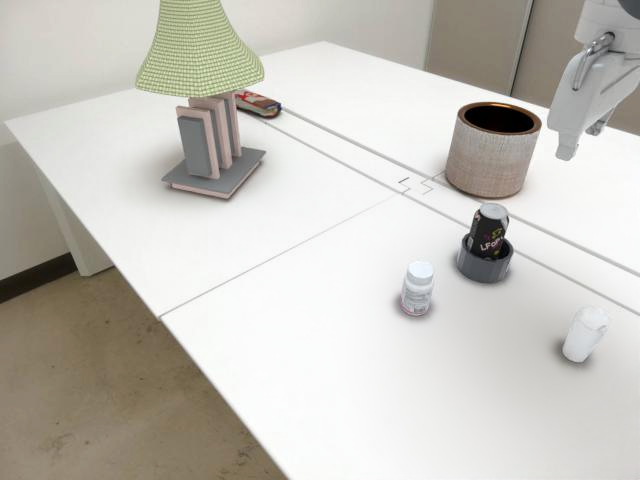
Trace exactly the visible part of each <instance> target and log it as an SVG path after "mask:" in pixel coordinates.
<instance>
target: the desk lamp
mask: <svg viewBox="0 0 640 480" xmlns="http://www.w3.org/2000/svg"><path fill="white" fill-rule="evenodd" d="M156 22H157V23H156V27H155V32H154V35H153V39H152V43H151V46H150V48H149V50H148V53H147V54H146V56H145V58H144V59H143V61H142V63H141V65H140V67H139V69H138V71H137V73H136V76H135V80H134V88H135V89H137V90H140V91H145V92H148V93H153V94H159V95H165V96H173V97H178V98H179V97H180V98H188V99H187V103H188V106H183V105H177V106H176V107H175V113H176V120H177V125H178V130H179V135H180V140H181V144H182V149H183V156H184V158H183V160H181V161H180V162H179V163H177V164H176V165H175V166H174V167H173V168H172V169H171V170H170V171H169V172H167V173H166V174H165V175H164V176H162V178H160V180H161V182H164V183H169V184H171V186H172V188H173V189H178V190H181V191H187V192H193V193H195V194H196V193H197V194H202V195H207V196H211V197H216V198H221V199H226V200H228V199H230V197H231V196H232V195H233V194H234V193H235V191H236V190H237V189H238V188H239V187H240V186H241V185H242V184H243V183H244V182H245V180H246V179H247V178H248V177H249V176H250V175H251V174H252V172H254V170H255V169H256V168H257V167H258V166H259V165H260V163H261V162H260V160H261V159H262V158H263V157H264V156H265V155H266V154H267V151H266V150H265V149H257V148H252V147H247V146H241V145H242V144H241V137H240V136H241V135H240V127H239V121H238V119H239V118H238V111H237V106H236V102H235V93H234V90H242V89H244V88H247V87H251V86H253V85H256V84H258V83H261V82H263V81H264V80H265V77H266V72H265V68H264V64H263V62H262V61H261V59H260V58H259V56H258V54H256V53H255V52H254V51H253V50H252V49H251V48H250V47H249V46H248V45H247V44H246V43H245V42H244V41H243V40H242V38H240V36H239V34H238V33H237V32H236V30H235V28H234V27H233V25H232V24H231V21H230V19H229V18H228V15H227V13H226V11H225V9H224V7H223V4H222V2H221V0H159V7H158V16H157V21H156Z"/></svg>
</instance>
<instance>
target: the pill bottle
mask: <svg viewBox="0 0 640 480" xmlns="http://www.w3.org/2000/svg"><path fill="white" fill-rule="evenodd" d="M434 272H435V270H434V267H433V266H432V265H431V264H430V263H429V262H426V261H424V260H415V261H411V262H410V263H409V264H408V266H407V271H406V273H405V274H404V276H403V281H402V289H401V295H400V301H399V302H400V303H399V304H400V305H399V306H400V308H401V310H403V311H404V312H405V313H407V314H408V315H411V316H422V315H424V314H426V313H427V312H428V310H429V308H430V304H431V298H432V293H433V289H434V285H435V281H434V280H435V279H434Z"/></svg>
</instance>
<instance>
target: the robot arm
mask: <svg viewBox="0 0 640 480" xmlns="http://www.w3.org/2000/svg"><path fill="white" fill-rule="evenodd" d="M573 37H574V40H575V41H576V42H578V43H580V44H581V45H583V47H582V49H581V51H580V52H579V53H577V54H576V55H574V56H573V57H572V58H571V59H570V60H569V62H568V64H567V65H566V67H565V69H564V71H563V74H562V76H561V78H560V81H559V83H558V86H557V89H556V91H555V94H554V97H553V99H552V103H551V105H550V108H549V110H548V114H547V116H546V127H547V129H549V130H551V131H554V132H556V133H558V146H557V147H556V151H555V154H554V155H555V158H556V159H558V160H561V161H564V162H569V161H571V160H572V159H573V158H574V157H575V156H576V154H577V151H578V150H579V146H580V144H579V141H580V138H581V136H582V135H583V133H585V134H587V135H589V136H593V137H597V136H599V135H601V134H602V133H603V132H604V130H605V128H606V125H607V123H608V121H609V119H610V118H611V116H612V114H613V112H614V111H615V110H616V108H617V107H618V104H620V103H621V102H622V101H623V100H624V99H626V97H629V96H630V94H632V93H633V92H634V91H635V90H636V88H638V86H639V84H640V0H584V3H583V6H582V9H581V12H580V15H579V19H578V22H577V25H576V28H575V32H574V35H573Z"/></svg>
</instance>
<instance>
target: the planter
mask: <svg viewBox="0 0 640 480" xmlns="http://www.w3.org/2000/svg"><path fill="white" fill-rule="evenodd" d="M542 126H543V122H542V120H541V118H540V117H539V116H538V115H537V114H536V113H534V112H532V111H531V110H529V109H527V108H524V107H522V106H518V105H515V104H510V103H507V102H506V103H505V102H500V101H499V102H498V101H476V102H471V103H468V104H465V105H463V106H461V107H460V108H459V109H458V111H457V113H456V117H455V123H454V127H453V133H452V137H451V141H450V146H449V149H448V155H447V160H446V163H445V170H444V171H445V177H446V179H447V180H448V181H449V182H450V183H451V184H452V186H454V187H455V188H457V189H459V190H460V191H462V192H464V193H467V194H470V195H472V196H477V197H481V198H489V199H492V198H493V199H495V198H497V199H498V198H503V197H509V196H511V195H514V194H516V193H517V192H519V191H520V190H521V189H522V187H523V185H524V183H525V181H526V177H527V174H528V171H529V168H530V164H531V161H532V159H533V156H534V152H535V149H536V145H537V143H538V139H539V136H540V133H541V130H542Z"/></svg>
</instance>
